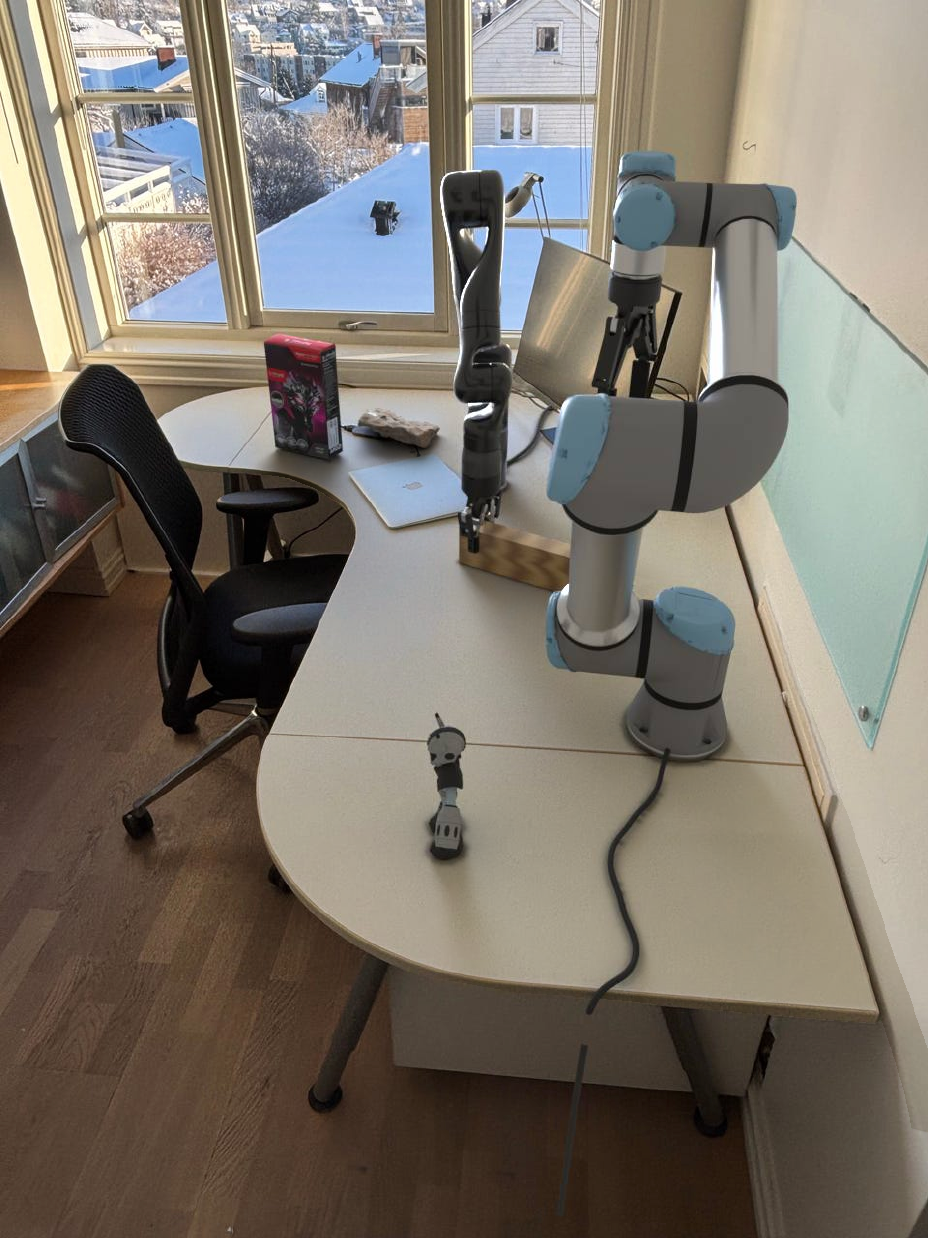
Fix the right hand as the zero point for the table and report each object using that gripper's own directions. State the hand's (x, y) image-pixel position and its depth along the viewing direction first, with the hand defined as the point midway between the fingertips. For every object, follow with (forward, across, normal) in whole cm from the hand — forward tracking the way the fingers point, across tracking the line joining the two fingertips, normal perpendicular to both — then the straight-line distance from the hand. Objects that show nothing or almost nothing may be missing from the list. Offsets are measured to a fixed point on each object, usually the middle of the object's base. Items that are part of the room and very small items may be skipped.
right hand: (620, 415), depth 143 cm
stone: (+41, -55, -80) cm, 105 cm away
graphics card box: (+41, -36, -94) cm, 109 cm away
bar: (+41, -11, -21) cm, 47 cm away
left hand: (+37, -11, -30) cm, 49 cm away
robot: (+41, +56, +2) cm, 69 cm away
